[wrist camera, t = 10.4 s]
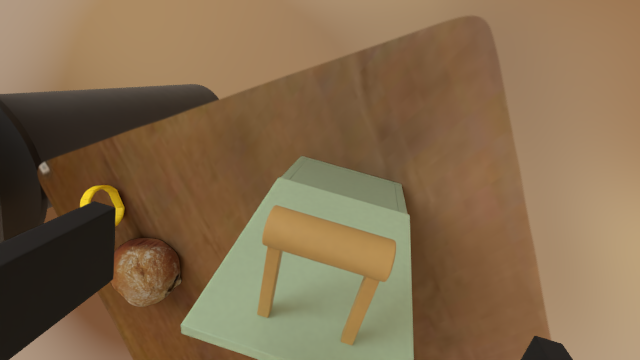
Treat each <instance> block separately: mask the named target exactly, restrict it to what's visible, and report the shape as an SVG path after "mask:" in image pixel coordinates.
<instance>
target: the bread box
mask: <svg viewBox="0 0 640 360" xmlns="http://www.w3.org/2000/svg"><path fill="white" fill-rule="evenodd" d="M281 178H284V179H287V180H290V181H294V182H297V183H301V184H304V185H308V186H311V187H315V188H318V189H322V190H325V191H329V192H332V193H335V194H339V195H342V196H346V197H349V198H353V199H356V200H360V201H363V202H367V203H370V204H373V205H377V206H380V207H384V208H387V209H391V210H394V211H398V212H401V213H405V214H407V209H406V204H405V200H404V195H403V190H402V185H401V184H400V183H396V182H392V181H389V180H385V179H382V178H378V177H375V176H371V175H368V174H364V173H361V172H357V171H353V170H350V169H346V168H343V167H339V166H336V165H332V164H329V163H325V162H322V161H318V160H314V159H311V158H307V157H304V156H301V157H300V158H299V159H298V160H297V161H296V162H295V163H294V164H293V165H292V166H291V167H290V168H289V169H288V170H287V171H286V173H285V174H284V175H283V176H282V177H281Z"/></svg>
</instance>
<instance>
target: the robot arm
mask: <svg viewBox="0 0 640 360" xmlns="http://www.w3.org/2000/svg"><path fill="white" fill-rule="evenodd" d="M115 216H116V208H115V207H111V206H108V205H105V204H101V203H98V202H95V201H93V202H91V203H89V204H87V205H84V206H82V207H80V208H78V209H75V210H73V211H71V212H69V213H66V214H64V215H62V216H60V217H57V218H55V219H53V220H51V221H48V222H47V223H44V224H42V225H39V226H37V227H35V228H33V229H30V230H28V231H26V232H24V233H21V234H19V235H17V236H15V237H12V238H10V239H8V240H6V241H4V242H1V243H0V360H9V359H10V358H12V357H13V356H14V355H16V354H17V353H18V352H19V351H21V350H22V349H23V348H24V347H26V346H27V345H28V344H30V343H31V342H32V341H34V340H35V339H36V338H37V337H39V336H40V335H41V334H43V333H44V332H45V331H46V330H48V329H49V328H51V327H52V326H53V325H54V324H56V323H57V322H58V321H60V320H61V319H62V318H64V317H65V316H66V315H67V314H69V313H70V312H71V311H73V310H74V309H75V308H76V307H78V306H79V305H80V304H82V303H83V302H84V301H86V300H87V299H88V298H89V297H91V296H92V295H93V294H94V293H96V292H97V291H99V290H100V289H101V288H102V287H104V286H105V285H106V284H108V283H109V282H110V281H112V280H113V276H114V246H115ZM521 360H573V359H572V358H571V356H570V355H569V353H568V352H567V350H566V349H565V348H564V346H563V345H562V344H561V343H557V342H554V341H551V340H547V339H544V338H541V337H538V336H534V338H533V339H532V341H531V343H530V345H529V346H528V348H527V350H526V352H525V353H524V355H523V357H522V359H521Z"/></svg>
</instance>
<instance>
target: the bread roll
mask: <svg viewBox="0 0 640 360" xmlns="http://www.w3.org/2000/svg"><path fill="white" fill-rule="evenodd" d="M110 283H111V284H112V285H113V288H114V289H115V290H117V291H118V292H119V293H120V294H121V295H122V296H123V297H124V298H125V299H126V300H127V301H128V302H129V303H130V304H131V305H135V306H140V307H145V306H149V305H152V304H155V303H158V302H160V301H161V300H163V299H164V298H166V297H167V296H168V295H169V293H170V292H172V291H173V290H174V289H173V288H175V287H176V286H178V285H179V284H180V283H181V278H180V265H179V258H178V256H177V254H176V252H175V251H174V250H173V249H172V248H171V247H170V246H169V245H167V244H166V243H164V242H163V241H161V240H159V239H154V238H153V239H151V238H137V239H133V240H129V241H127V242H126V243H124V244H122V245H120V246H119V247H118V249H117V250H116V251H115V252H114V276H113V280H112V281H110Z"/></svg>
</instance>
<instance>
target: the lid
mask: <svg viewBox="0 0 640 360" xmlns="http://www.w3.org/2000/svg"><path fill="white" fill-rule="evenodd" d="M181 333H182V334H185V335H188V336H191V337H194V338H197V339H200V340H203V341H206V342H208V343H211V344H214V345H217V346H220V347H223V348H226V349H229V350H232V351H235V352H238V353H241V354H244V355H247V356H250V357H253V358H256V359H259V360H414V350H413V313H412V277H411V241H410V215H408V214H405V213H401V212H398V211H394V210H391V209H387V208H384V207H380V206H377V205H373V204H370V203H367V202H363V201H360V200H356V199H353V198H349V197H346V196H342V195H339V194H335V193H332V192H329V191H325V190H322V189H318V188H315V187H311V186H308V185H304V184H301V183H297V182H294V181H290V180H287V179H284V178H280V177H278V179H277V180H276V182H275V183H274V185H273V186H272V188H271V189H270V191H269V192H268V194H267V195H266V197H265V198H264V200H263V201H262V203H261V204H260V206H259V207H258V209H257V210H256V212H255V213H254V215H253V216H252V218H251V219H250V221H249V222H248V224H247V225H246V227H245V229H244V230H243V232H242V233H241V235H240V236H239V238H238V239H237V241H236V242H235V244H234V245H233V247H232V248H231V250H230V251H229V253H228V254H227V256H226V257H225V259H224V260H223V262H222V263H221V265H220V266H219V268H218V269H217V271H216V272H215V274H214V275H213V277H212V278H211V280H210V281H209V283H208V284H207V286H206V287H205V289H204V290H203V292H202V293H201V295H200V297H199V298H198V300H197V301H196V303H195V304H194V306H193V307H192V309H191V310H190V312H189V313H188V315H187V316H186V318H185V319H184V321H183V322H182V324H181Z"/></svg>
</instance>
